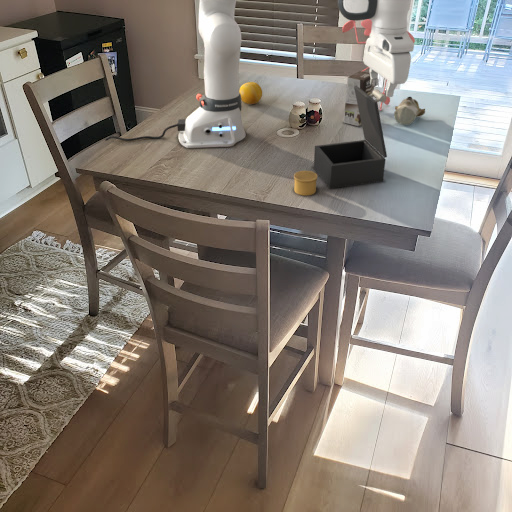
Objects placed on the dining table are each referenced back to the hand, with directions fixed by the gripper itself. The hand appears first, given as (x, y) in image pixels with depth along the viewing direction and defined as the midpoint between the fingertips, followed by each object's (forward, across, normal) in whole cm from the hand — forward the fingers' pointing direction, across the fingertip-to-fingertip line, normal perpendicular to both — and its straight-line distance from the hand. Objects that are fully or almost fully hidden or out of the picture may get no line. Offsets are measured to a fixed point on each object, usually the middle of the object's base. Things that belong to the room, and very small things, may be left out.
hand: (381, 90), depth 150 cm
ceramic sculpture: (+24, -34, +28) cm, 50 cm away
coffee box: (+24, -38, +11) cm, 46 cm away
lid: (+9, 0, -2) cm, 9 cm away
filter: (+24, +6, -22) cm, 34 cm away
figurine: (+24, -53, +23) cm, 63 cm away
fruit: (+24, -66, -21) cm, 73 cm away
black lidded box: (+24, 0, -7) cm, 25 cm away
